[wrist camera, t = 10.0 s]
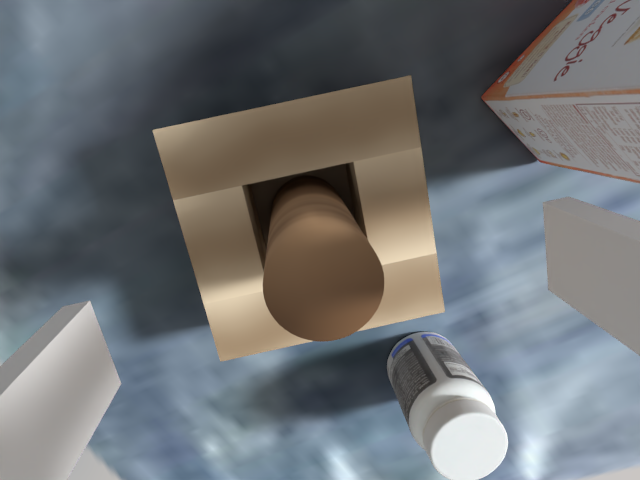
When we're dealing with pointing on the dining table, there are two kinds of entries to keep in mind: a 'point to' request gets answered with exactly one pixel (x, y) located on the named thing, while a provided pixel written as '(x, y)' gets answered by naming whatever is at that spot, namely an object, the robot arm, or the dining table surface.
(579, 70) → the cracker box
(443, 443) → the pill bottle
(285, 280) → the pin
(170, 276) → the dining table surface
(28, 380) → the robot arm
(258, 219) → the bore block
